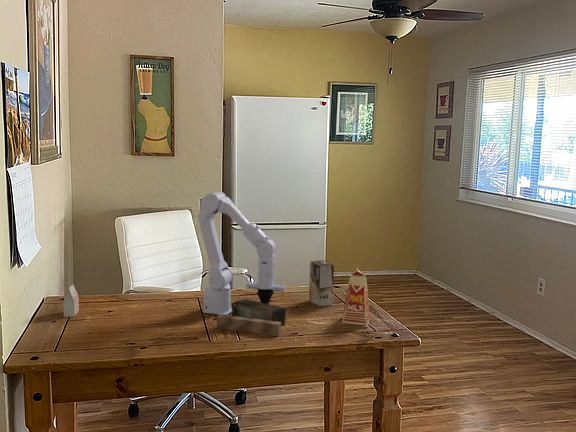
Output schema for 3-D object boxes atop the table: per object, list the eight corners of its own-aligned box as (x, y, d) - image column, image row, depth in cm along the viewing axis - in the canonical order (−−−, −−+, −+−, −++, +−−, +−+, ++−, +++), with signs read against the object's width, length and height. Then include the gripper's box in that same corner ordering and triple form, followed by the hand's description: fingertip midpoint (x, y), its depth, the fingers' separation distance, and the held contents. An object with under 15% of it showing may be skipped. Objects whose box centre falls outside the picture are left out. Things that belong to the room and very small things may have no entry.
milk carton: (367, 325, 204) (370, 269, 202) (341, 323, 206) (343, 267, 203) (369, 317, 213) (372, 264, 211) (344, 315, 215) (346, 262, 212)
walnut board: (216, 328, 198) (216, 316, 197) (219, 325, 200) (219, 314, 199) (278, 336, 191) (278, 324, 191) (280, 333, 194) (281, 322, 193)
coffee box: (333, 305, 228) (335, 264, 226) (318, 306, 225) (320, 266, 223) (322, 298, 236) (323, 260, 234) (308, 300, 233) (309, 261, 231)
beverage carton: (245, 313, 215) (245, 296, 214) (286, 324, 204) (287, 306, 203) (230, 318, 209) (230, 300, 208) (272, 330, 198) (273, 311, 197)
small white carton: (63, 317, 205) (62, 289, 203) (68, 311, 211) (67, 284, 210) (74, 316, 205) (73, 289, 204) (78, 311, 212) (78, 284, 210)
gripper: (243, 273, 208) (242, 310, 210) (282, 277, 204) (281, 314, 206) (249, 269, 215) (249, 305, 217) (287, 272, 211) (286, 309, 213)
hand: (265, 309), depth 212 cm, fingers closed
